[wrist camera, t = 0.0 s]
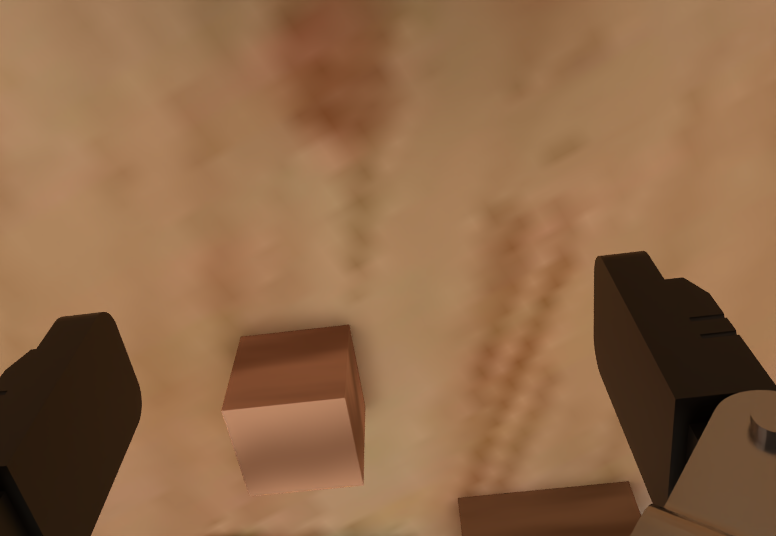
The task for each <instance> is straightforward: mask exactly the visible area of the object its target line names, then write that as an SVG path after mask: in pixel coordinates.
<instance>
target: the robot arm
mask: <svg viewBox="0 0 776 536" xmlns="http://www.w3.org/2000/svg"><path fill="white" fill-rule="evenodd" d="M594 347H595V354H596V360H597V365H598V369H599V372H600V375H601V377H602V380H603V382H604V385H605V387H606V390H607V392H608V394H609V397H610V399H611V402H612V404H613V407H614V409H615V412H616V414H617V417H618V419H619V421H620V424H621V426H622V429H623V431H624V434H625V436H626V439H627V441H628V444H629V446H630V448H631V451H632V453H633V456H634V458H635V461H636V463H637V466H638V468H639V471H640V473H641V475H642V478H643V480H644V483H645V485H646V488H647V490H648V493H649V495H650V498H651V500H652V502H653V504H651V505H649V506H648V507H647V508H646V509H645V511H644V512H643V514H642V515H641V517H640V519H639V520H638V522H637V524H636V526H635V528H634V530H633V531H632V533H631V535H630V536H776V385H775V384H774V382H773V381H772V379H771V378H770V377H769V375H768V374H767V372H766V371H765V370H764V368H763V367H762V366H761V364H760V363H759V361H758V360H757V359H756V357H755V356H754V355H753V353H752V352H751V350H750V349H749V348H748V346H747V345H746V343H745V342H744V341H743V339H742V338H741V337H740V335H737V334H736V330H735V328H734V327H733V325H732V324H731V323H730V321H729V320H728V319H727V318H725V317H724V313H723V312H722V310H721V309H720V307H719V306H718V305H717V303H716V302H715V301H714V299H713V298H712V296H711V295H710V294H709V293H708V292H706V291H704V290H703V289H701V288H700V287H698V286H696V285H695V284H693V283H691V282H690V281H688V280H686V279H685V278H674V279H665V280H664V278H663V277H662V275H661V274H660V272H659V270H658V269H657V267H656V266H655V264H654V263H653V261H652V260H651V258H650V256H649V255H648V254H647V252H645V251H639V252H630V253H622V254H613V255H604V256H598V257H597V258H596V260H595V267H594ZM141 408H142V400H141V391H140V387H139V384H138V381H137V378H136V375H135V373H134V370H133V367H132V365H131V362H130V360H129V357H128V354H127V352H126V349H125V346H124V344H123V341H122V338H121V336H120V333H119V330H118V328H117V325H116V323H115V321H114V319H113V318H112V316H111V315H110V314H109V313H107V312H99V313H91V314H82V315H73V316H65V317H60V318H58V319H57V320H56V321H55V323H54V324H53V326H52V327H51V328H50V330H49V331H48V333H47V334H46V336H45V337H44V339H43V340H42V342H41V343H40V344H39V346H38V347H37V349H33V350H30V351H29V352H28V353H26V354H25V355H24V356H23V357H21V358H20V359H19V360H18V361H16V362H15V363H14V364H13V365H11V366H10V367H9V368H7V369H6V370H5V371H4V373H3V374H2V375H1V377H0V536H91V534H92V532H93V529H94V527H95V524H96V522H97V520H98V517H99V515H100V513H101V510H102V508H103V506H104V503H105V501H106V499H107V496H108V494H109V491H110V489H111V487H112V484H113V482H114V480H115V477H116V475H117V473H118V470H119V468H120V465H121V463H122V461H123V458H124V456H125V454H126V451H127V449H128V447H129V444H130V442H131V440H132V437H133V435H134V432H135V430H136V428H137V425H138V423H139V420H140V416H141Z"/></svg>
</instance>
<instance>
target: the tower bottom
mask: <svg viewBox="0 0 776 536" xmlns="http://www.w3.org/2000/svg"><path fill="white" fill-rule="evenodd" d="M458 503H459V512H460V521H461V530H462V536H630V535H631V533H632V531H633V530H634V528H635V526H636V524H637V522H638V520H639V519H640V517H641V514H640V511H639V509H638V506H637V503H636V501H635V498H634V495H633V493H632V490H631V487H630V484H629V482H618V483H607V484H597V485H587V486H576V487H566V488H556V489H545V490H535V491H525V492H514V493H504V494H494V495H483V496H473V497H463V498H458Z"/></svg>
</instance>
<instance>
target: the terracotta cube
mask: <svg viewBox="0 0 776 536" xmlns="http://www.w3.org/2000/svg"><path fill="white" fill-rule="evenodd" d="M221 411H222V414H223V417H224V421H225V424H226V427H227V430H228V433H229V436H230V439H231V442H232V445H233V448H234V451H235V454H236V457H237V460H238V463H239V466H240V469H241V472H242V475H243V478H244V481H245V484H246V487H247V490H248V493H249V496H260V495H270V494H280V493H290V492H300V491H310V490H321V489H331V488H341V487H351V486H361V485H363V480H364V437H365V404H364V398H363V393H362V388H361V383H360V378H359V373H358V367H357V362H356V357H355V352H354V347H353V342H352V336H351V331H350V326H349V325H343V326H334V327H325V328H315V329H306V330H297V331H288V332H279V333H270V334H261V335H252V336H243V337H241V338H240V342H239V346H238V350H237V353H236V357H235V361H234V365H233V369H232V372H231V376H230V380H229V384H228V388H227V391H226V395H225V399H224V403H223V407H222V410H221Z"/></svg>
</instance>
